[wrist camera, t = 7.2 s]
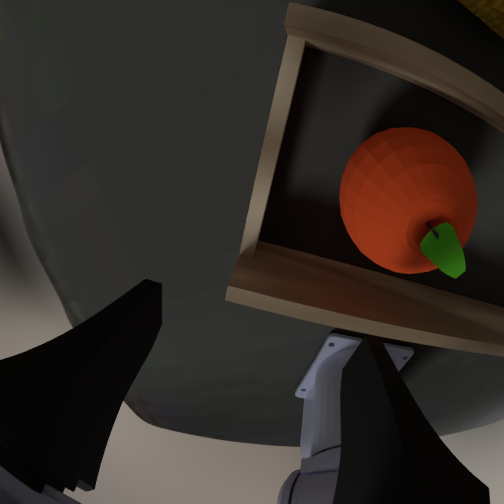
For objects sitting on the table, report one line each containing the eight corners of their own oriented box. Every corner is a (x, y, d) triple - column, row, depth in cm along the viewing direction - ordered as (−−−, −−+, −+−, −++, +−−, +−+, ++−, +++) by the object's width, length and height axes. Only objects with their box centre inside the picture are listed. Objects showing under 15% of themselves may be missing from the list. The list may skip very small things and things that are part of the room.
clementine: (469, 195, 15) (529, 255, 9) (391, 261, 18) (419, 341, 12) (393, 93, 13) (452, 102, 7) (307, 175, 16) (308, 233, 10)
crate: (518, 321, 19) (538, 359, 15) (243, 250, 20) (225, 300, 15) (587, 192, 11) (622, 219, 7) (293, 26, 12) (289, 2, 8)
